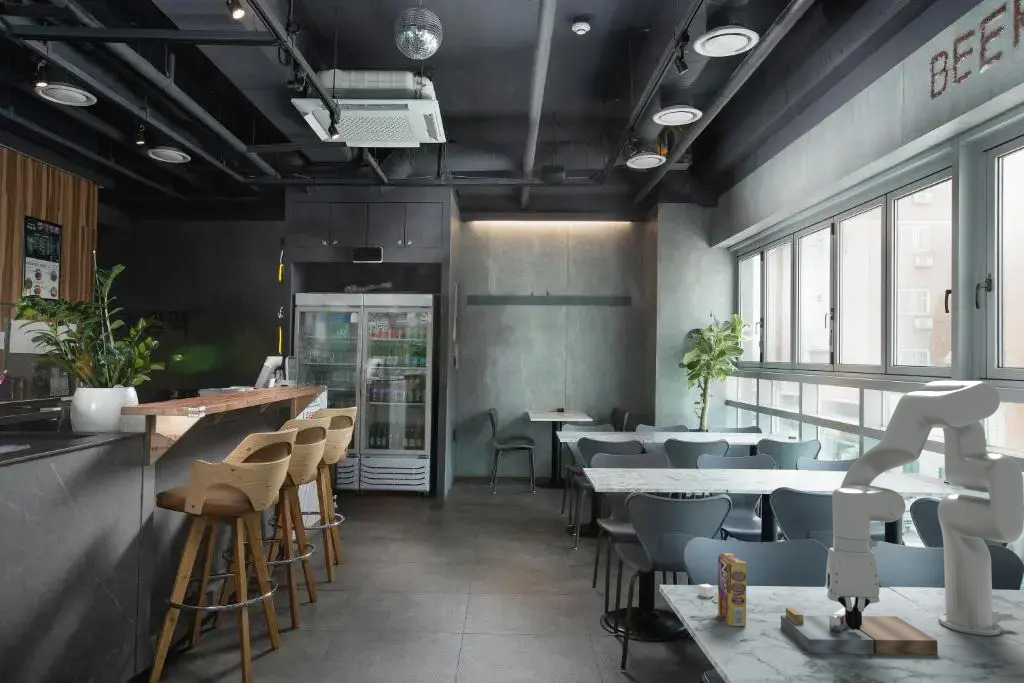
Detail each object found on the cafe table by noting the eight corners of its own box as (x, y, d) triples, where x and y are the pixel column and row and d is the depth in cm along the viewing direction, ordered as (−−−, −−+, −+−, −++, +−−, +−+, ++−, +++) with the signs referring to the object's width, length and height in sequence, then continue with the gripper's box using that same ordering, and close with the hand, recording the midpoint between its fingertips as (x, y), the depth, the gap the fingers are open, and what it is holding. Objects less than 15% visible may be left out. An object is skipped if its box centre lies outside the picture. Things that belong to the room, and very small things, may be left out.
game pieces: (698, 596, 183) (697, 584, 183) (708, 595, 184) (707, 583, 184) (726, 609, 172) (726, 597, 172) (736, 608, 173) (736, 595, 173)
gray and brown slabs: (896, 629, 159) (896, 607, 159) (937, 654, 144) (937, 631, 144) (780, 628, 158) (780, 606, 159) (809, 653, 143) (809, 629, 144)
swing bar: (848, 615, 158) (848, 602, 158) (863, 619, 156) (862, 606, 156) (826, 629, 149) (825, 615, 149) (841, 633, 146) (840, 619, 147)
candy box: (747, 627, 159) (747, 562, 160) (730, 627, 159) (729, 562, 160) (734, 614, 168) (733, 553, 169) (717, 614, 168) (716, 553, 169)
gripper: (880, 542, 152) (882, 623, 150) (811, 539, 154) (813, 619, 153) (894, 550, 144) (896, 636, 143) (821, 547, 146) (823, 631, 145)
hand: (853, 627), depth 148 cm, fingers closed
